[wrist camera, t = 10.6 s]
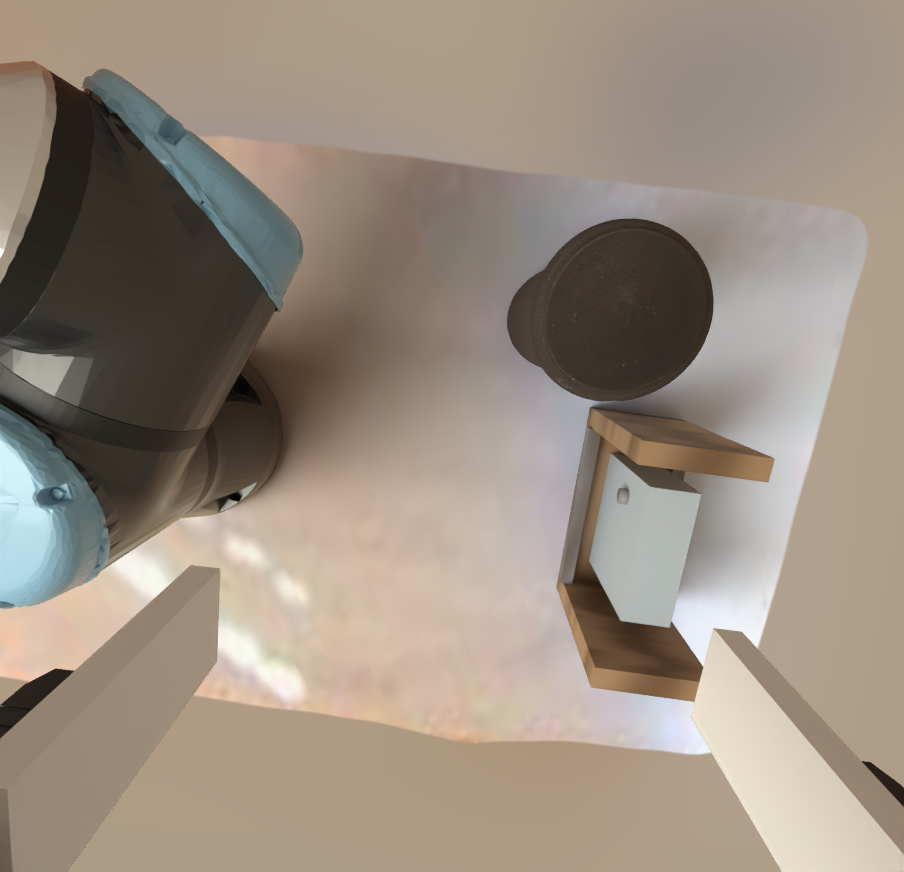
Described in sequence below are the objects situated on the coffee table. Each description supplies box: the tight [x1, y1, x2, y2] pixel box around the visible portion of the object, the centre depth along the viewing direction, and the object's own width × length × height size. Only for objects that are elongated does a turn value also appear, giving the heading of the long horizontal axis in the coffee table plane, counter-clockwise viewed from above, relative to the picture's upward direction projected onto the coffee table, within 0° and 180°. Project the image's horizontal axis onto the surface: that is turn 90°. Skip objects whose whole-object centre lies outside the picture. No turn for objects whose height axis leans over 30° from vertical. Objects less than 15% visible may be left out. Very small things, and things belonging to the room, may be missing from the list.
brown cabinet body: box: [557, 408, 774, 702], centre depth 40 cm, size 8×17×14 cm, turn 172°
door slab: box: [589, 453, 702, 628], centre depth 41 cm, size 4×10×10 cm, turn 172°
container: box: [507, 219, 713, 401], centre depth 34 cm, size 9×9×20 cm
